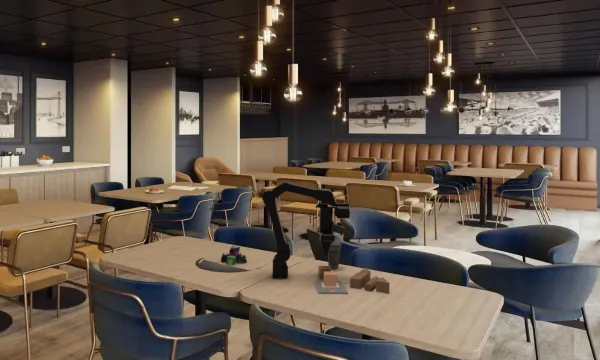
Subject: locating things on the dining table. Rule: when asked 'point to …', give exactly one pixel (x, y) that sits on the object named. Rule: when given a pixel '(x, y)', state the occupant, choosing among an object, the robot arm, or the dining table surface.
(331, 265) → the beverage cup
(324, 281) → the terracotta block
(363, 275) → the wooden block set
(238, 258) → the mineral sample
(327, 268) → the walnut block
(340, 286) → the grey flat plate
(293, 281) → the dining table surface
